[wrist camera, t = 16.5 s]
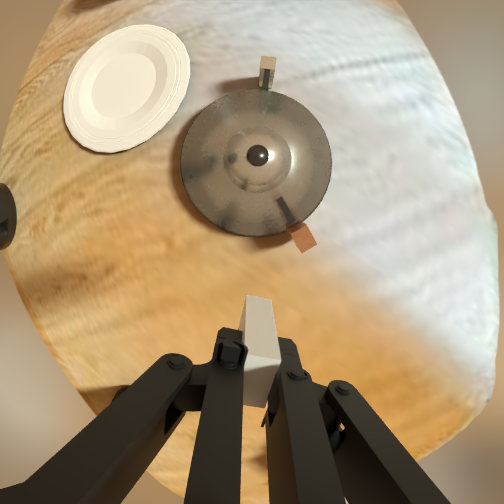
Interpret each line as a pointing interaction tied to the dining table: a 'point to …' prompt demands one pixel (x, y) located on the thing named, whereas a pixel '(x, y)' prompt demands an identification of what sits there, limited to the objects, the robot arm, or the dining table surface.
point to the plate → (126, 88)
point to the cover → (257, 159)
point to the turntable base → (265, 82)
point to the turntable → (266, 203)
